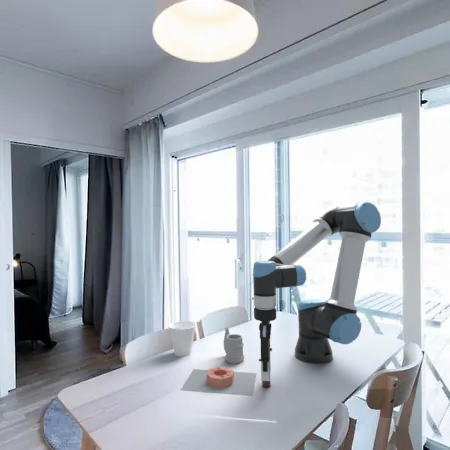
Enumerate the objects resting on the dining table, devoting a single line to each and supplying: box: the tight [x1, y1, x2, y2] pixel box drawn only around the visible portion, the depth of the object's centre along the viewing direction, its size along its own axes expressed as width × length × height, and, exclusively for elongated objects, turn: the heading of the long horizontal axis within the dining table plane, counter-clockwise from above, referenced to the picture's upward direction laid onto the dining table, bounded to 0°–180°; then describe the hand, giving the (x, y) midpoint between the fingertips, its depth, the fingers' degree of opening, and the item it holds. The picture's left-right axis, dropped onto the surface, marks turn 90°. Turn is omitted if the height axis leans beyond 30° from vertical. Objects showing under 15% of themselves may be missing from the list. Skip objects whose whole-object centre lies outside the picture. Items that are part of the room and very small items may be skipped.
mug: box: [223, 326, 245, 365], centre depth 133 cm, size 8×12×12 cm, turn 31°
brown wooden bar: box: [261, 338, 271, 389], centre depth 110 cm, size 3×3×16 cm
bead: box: [207, 366, 235, 388], centre depth 113 cm, size 9×9×3 cm
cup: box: [168, 320, 197, 358], centre depth 140 cm, size 12×12×12 cm
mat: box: [180, 368, 257, 397], centre depth 113 cm, size 24×16×1 cm, turn 80°
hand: (266, 375), depth 110 cm, fingers open, 6 cm apart
